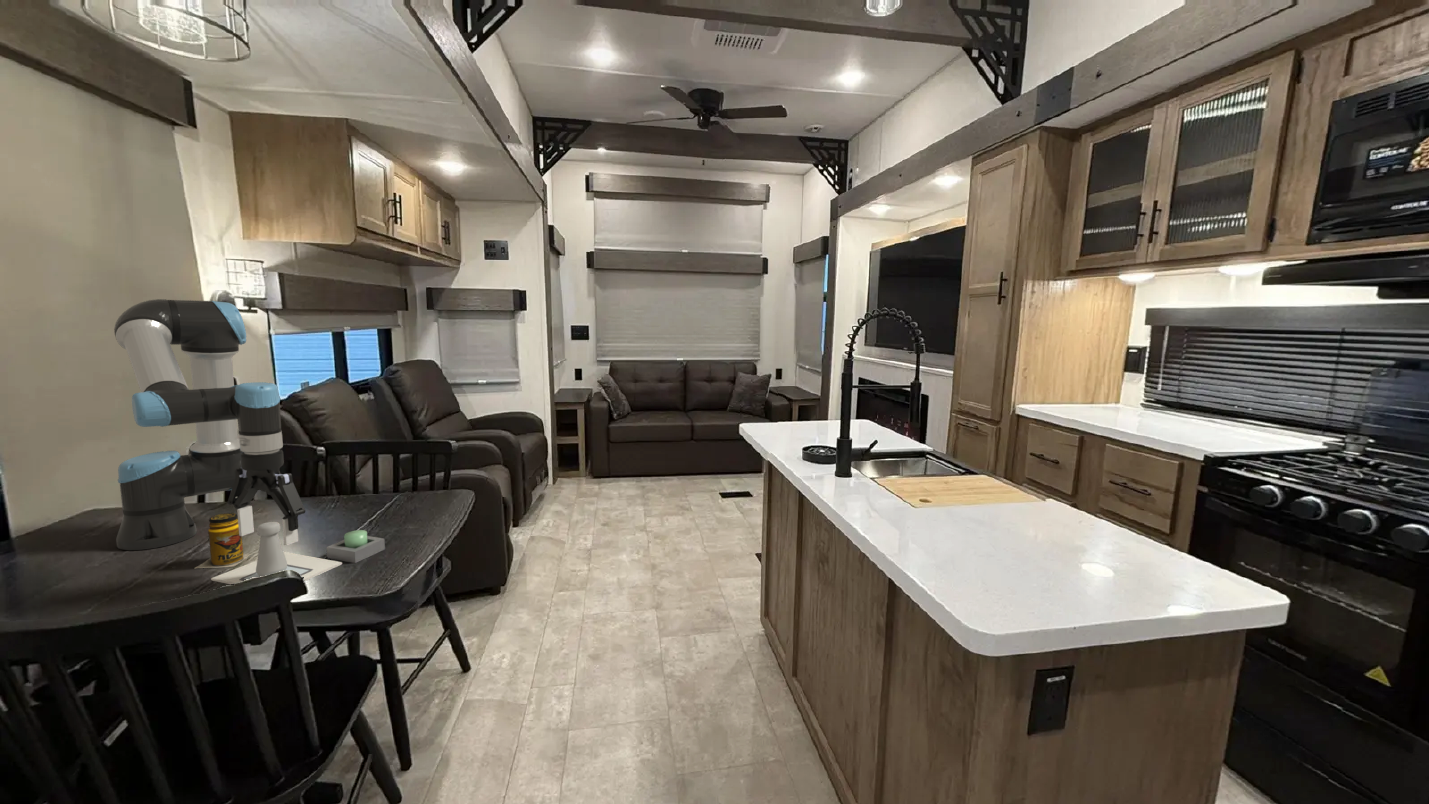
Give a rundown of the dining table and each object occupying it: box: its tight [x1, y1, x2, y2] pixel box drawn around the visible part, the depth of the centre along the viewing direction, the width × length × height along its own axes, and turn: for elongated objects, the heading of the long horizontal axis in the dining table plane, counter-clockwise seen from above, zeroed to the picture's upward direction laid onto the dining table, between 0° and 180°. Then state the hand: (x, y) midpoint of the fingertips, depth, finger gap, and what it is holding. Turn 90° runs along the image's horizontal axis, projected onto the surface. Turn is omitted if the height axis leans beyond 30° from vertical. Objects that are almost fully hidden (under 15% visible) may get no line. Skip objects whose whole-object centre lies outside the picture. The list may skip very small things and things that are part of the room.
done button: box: [343, 529, 368, 549], centre depth 142 cm, size 5×5×4 cm
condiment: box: [194, 512, 252, 569], centre depth 135 cm, size 7×8×12 cm
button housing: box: [326, 535, 386, 564], centre depth 143 cm, size 9×9×3 cm
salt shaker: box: [256, 521, 287, 577], centre depth 127 cm, size 6×6×13 cm
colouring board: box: [210, 551, 343, 585], centre depth 131 cm, size 20×16×1 cm
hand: (268, 538), depth 127 cm, fingers open, 13 cm apart
